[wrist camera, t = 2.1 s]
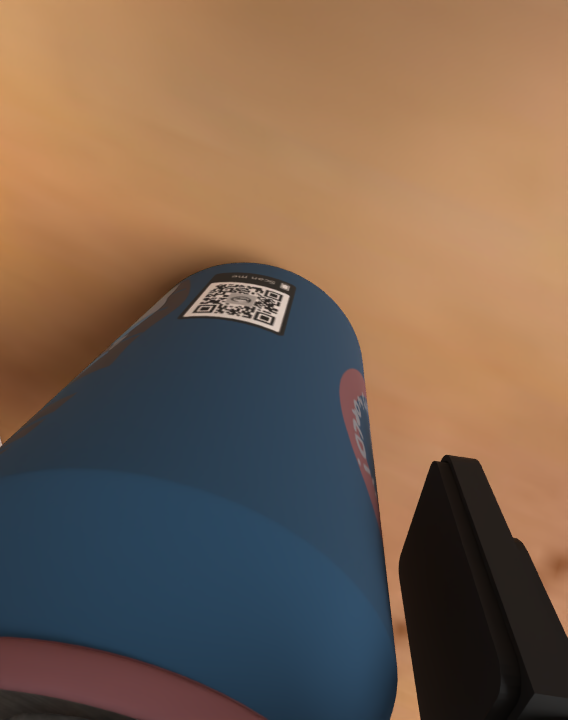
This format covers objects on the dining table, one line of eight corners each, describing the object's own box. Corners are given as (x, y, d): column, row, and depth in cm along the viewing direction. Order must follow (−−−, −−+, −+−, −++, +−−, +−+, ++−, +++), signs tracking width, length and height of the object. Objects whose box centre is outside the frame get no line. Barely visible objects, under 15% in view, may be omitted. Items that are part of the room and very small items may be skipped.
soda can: (338, 453, 17) (342, 1002, 6) (156, 420, 17) (-148, 896, 6) (382, 271, 14) (546, 742, 3) (159, 234, 14) (-425, 552, 3)
